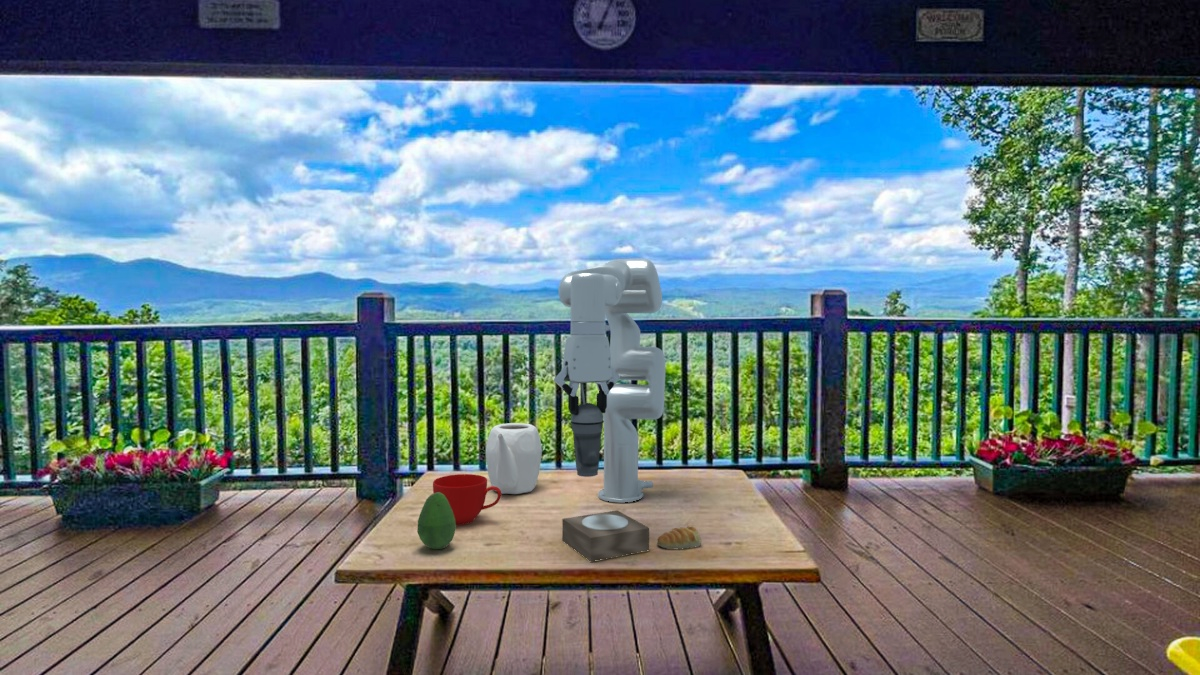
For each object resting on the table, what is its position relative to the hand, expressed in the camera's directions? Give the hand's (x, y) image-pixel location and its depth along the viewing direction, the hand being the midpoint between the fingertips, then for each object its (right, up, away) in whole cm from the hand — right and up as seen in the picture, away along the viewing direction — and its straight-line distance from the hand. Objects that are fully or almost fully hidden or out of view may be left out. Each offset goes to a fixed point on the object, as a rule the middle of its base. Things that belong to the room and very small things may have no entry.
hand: (587, 412), depth 137 cm
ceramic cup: (-30, -29, +17) cm, 45 cm away
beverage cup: (0, -14, 0) cm, 14 cm away
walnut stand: (+4, -29, 0) cm, 29 cm away
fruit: (-32, -29, -2) cm, 44 cm away
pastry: (+20, -30, +2) cm, 36 cm away
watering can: (-22, -28, +44) cm, 57 cm away
